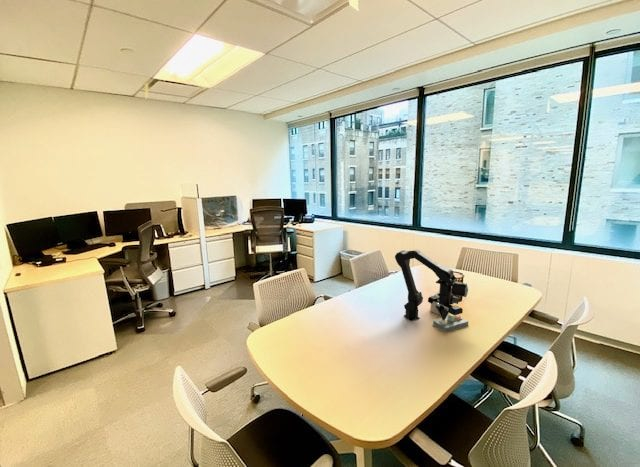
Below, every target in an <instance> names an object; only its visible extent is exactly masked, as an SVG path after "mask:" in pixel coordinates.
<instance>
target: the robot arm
mask: <svg viewBox="0 0 640 467" xmlns="http://www.w3.org/2000/svg"><path fill="white" fill-rule="evenodd" d="M394 259H395V261H396V263H397V265H398V266H399V267H400V269H401V272H402V275H403V278H404V282H405V285H406V288H407V292H408V293H407V303H405V304H404V305H403V306H404V307H403V308H404V309H405V314H403V317H404V318H406V320H409V321H416V320H419V319H420V317H419V306H420V305H421V304H422V303H423V299H424V297H423V294H422V292H421V291H418V290H417V287H416V283H415V279H414V277H413V273H412V270H411V267H410V264H411V260H412V259H415V260H417V261H418V262H420V264H422V265H424V266H425V267H426V268H428V269H430V270H431V271H432V272H433V273H434V274H435V276H436V277H437V278H438V279H437V280H436V281H435V283H436V284H439V291H438V292H439V293H438V292H437V293H438V296H439V297H438V296H431V295H430V296H429V297H428V298H427V303H429V304H430V305H431V304H432V303H433V301H434V302H436V304H437V306H435V307H436V308H437V310H438V311H439V313H440V314H439V316H440V317H441V318H442V320H445V319H446V317H447V316H448V314H452V315H461V314H463V311H464V310H463V308H462V307H460V306H458V304H459V302H460V297H463V298H467V296H468V293H469V286H468V283H466V282H460V281H458V279H457V277H456V276H455V274H454V271H453V269H452V268H450V267H447V266H445V265H443V264H439V263H437V262H436V261H435V260H433V259H431V258H430V257H429V256H427V255H426V254H425V253H423V252H421V250H420V249H416V250H408V251H407V250H400V251H399V252H397V253H396V254H395V256H394ZM454 304H455V305H454ZM456 304H457V305H456Z"/></svg>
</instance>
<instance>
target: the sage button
mask: <svg viewBox="0 0 640 467" xmlns="http://www.w3.org/2000/svg"><path fill="white" fill-rule="evenodd" d="M447 316H448V320H447V321H448V322H450V323H453V322H454V315H452V314H450V313H448V315H447Z"/></svg>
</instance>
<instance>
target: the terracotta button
mask: <svg viewBox="0 0 640 467" xmlns="http://www.w3.org/2000/svg"><path fill="white" fill-rule="evenodd" d="M461 318H462V316H461V314H458V315H455V316H454V319H455V320H456V321H460V320H461Z"/></svg>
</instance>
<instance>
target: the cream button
mask: <svg viewBox="0 0 640 467" xmlns="http://www.w3.org/2000/svg"><path fill="white" fill-rule="evenodd" d="M440 323H441V324H443V325H446V324H447V319H445V320H442V319H441V322H440Z"/></svg>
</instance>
